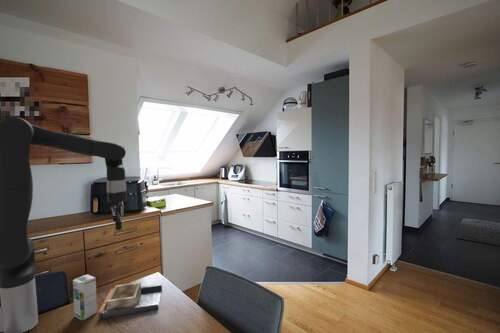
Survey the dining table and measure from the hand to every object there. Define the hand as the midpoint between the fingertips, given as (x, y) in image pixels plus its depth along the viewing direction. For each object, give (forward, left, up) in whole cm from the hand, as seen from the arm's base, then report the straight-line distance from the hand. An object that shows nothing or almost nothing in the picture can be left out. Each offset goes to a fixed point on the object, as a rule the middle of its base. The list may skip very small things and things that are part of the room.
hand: (118, 229), depth 109 cm
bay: (+6, -9, -29) cm, 31 cm away
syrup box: (-10, -12, -29) cm, 33 cm away
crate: (+4, -9, -29) cm, 31 cm away
